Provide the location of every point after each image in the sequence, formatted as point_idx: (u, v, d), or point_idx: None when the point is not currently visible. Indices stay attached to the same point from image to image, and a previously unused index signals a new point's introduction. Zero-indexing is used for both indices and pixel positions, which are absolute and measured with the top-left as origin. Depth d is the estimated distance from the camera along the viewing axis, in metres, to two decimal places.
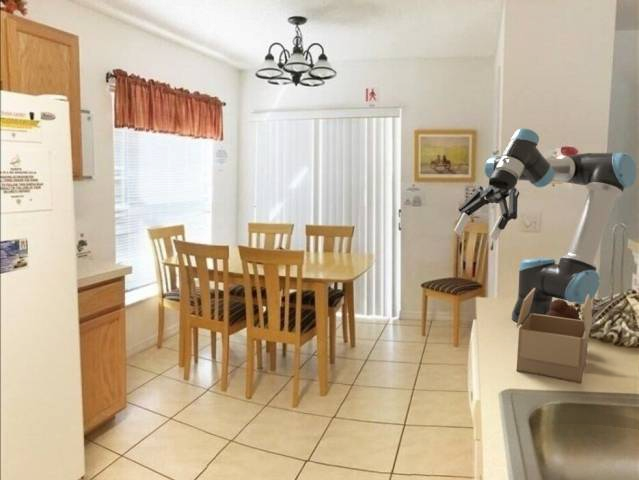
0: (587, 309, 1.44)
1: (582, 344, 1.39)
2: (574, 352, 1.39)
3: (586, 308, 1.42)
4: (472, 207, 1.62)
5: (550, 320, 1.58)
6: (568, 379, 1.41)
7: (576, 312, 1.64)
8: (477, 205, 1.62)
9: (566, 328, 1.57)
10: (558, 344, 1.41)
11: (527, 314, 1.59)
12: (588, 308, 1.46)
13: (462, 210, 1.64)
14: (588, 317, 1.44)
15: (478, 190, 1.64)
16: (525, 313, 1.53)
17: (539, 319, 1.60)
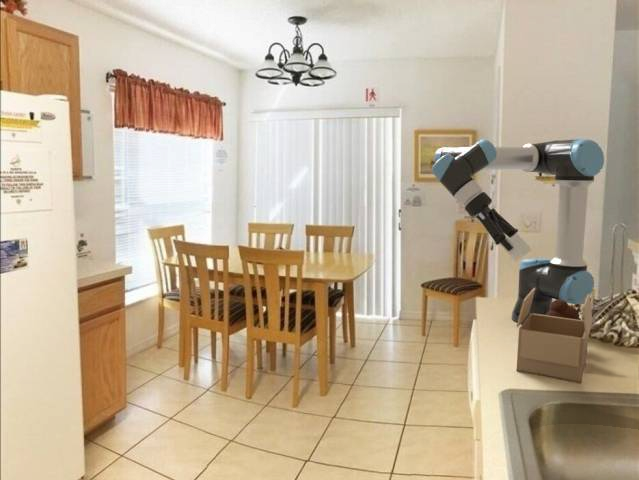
0: (587, 309, 1.44)
1: (582, 344, 1.39)
2: (574, 352, 1.39)
3: (586, 308, 1.42)
4: (504, 231, 1.59)
5: (550, 320, 1.58)
6: (568, 379, 1.41)
7: (576, 312, 1.64)
8: (502, 227, 1.59)
9: (566, 328, 1.57)
10: (558, 344, 1.41)
11: (527, 314, 1.59)
12: (588, 308, 1.46)
13: (508, 236, 1.61)
14: (588, 317, 1.44)
15: None
16: (525, 313, 1.53)
17: (539, 319, 1.60)
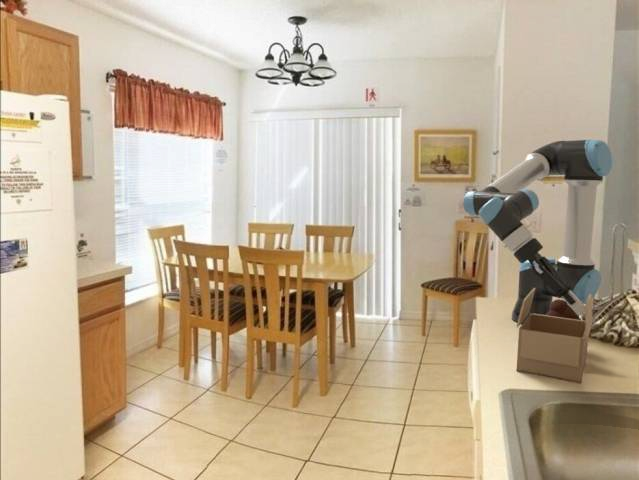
0: None
1: (582, 344, 1.39)
2: (574, 352, 1.39)
3: (588, 308, 1.41)
4: None
5: (550, 320, 1.58)
6: (568, 379, 1.41)
7: None
8: None
9: (566, 328, 1.57)
10: (558, 344, 1.41)
11: (527, 314, 1.59)
12: None
13: None
14: (589, 317, 1.44)
15: None
16: (525, 313, 1.53)
17: (539, 319, 1.60)
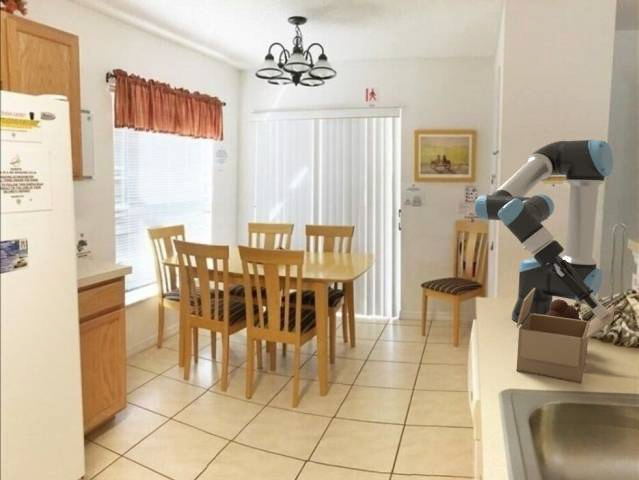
0: None
1: (582, 344, 1.39)
2: (574, 352, 1.39)
3: None
4: None
5: (550, 320, 1.58)
6: (568, 379, 1.41)
7: (576, 312, 1.64)
8: None
9: (566, 328, 1.57)
10: (558, 344, 1.41)
11: (527, 314, 1.59)
12: (606, 317, 1.44)
13: None
14: None
15: None
16: (525, 313, 1.53)
17: (539, 319, 1.60)
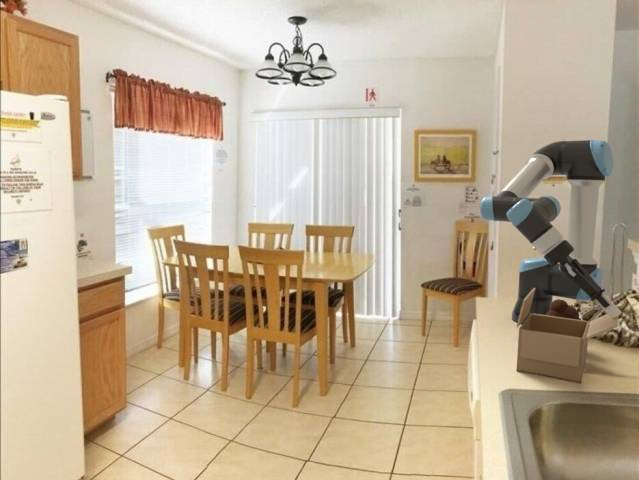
0: (610, 323, 1.41)
1: (582, 344, 1.39)
2: (574, 352, 1.39)
3: (612, 324, 1.39)
4: None
5: (550, 320, 1.58)
6: (568, 379, 1.41)
7: (576, 312, 1.64)
8: None
9: (566, 328, 1.57)
10: (558, 344, 1.41)
11: (527, 314, 1.59)
12: (609, 321, 1.44)
13: None
14: (602, 326, 1.43)
15: None
16: (525, 313, 1.53)
17: (539, 319, 1.60)
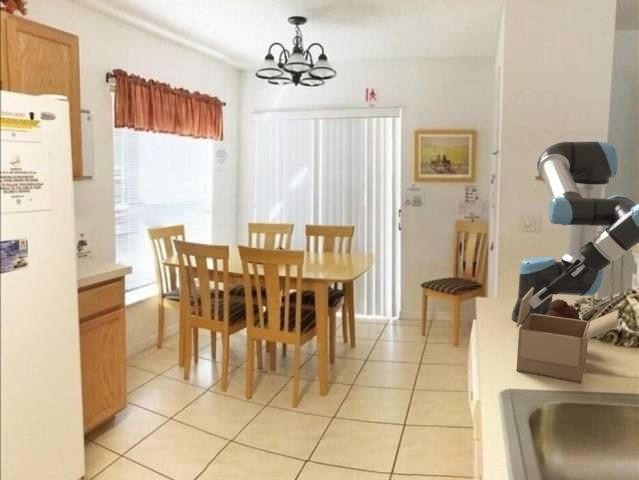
0: (610, 323, 1.41)
1: (582, 344, 1.39)
2: (574, 352, 1.39)
3: (612, 324, 1.39)
4: None
5: (550, 320, 1.58)
6: (568, 379, 1.41)
7: (576, 312, 1.64)
8: None
9: (566, 328, 1.57)
10: (558, 344, 1.41)
11: (527, 314, 1.59)
12: (609, 321, 1.44)
13: (548, 284, 1.51)
14: (602, 326, 1.43)
15: None
16: (525, 313, 1.54)
17: (539, 319, 1.60)
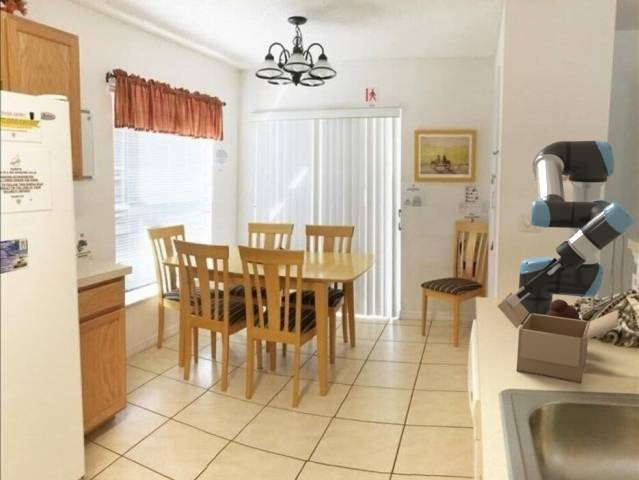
0: (610, 323, 1.41)
1: (582, 344, 1.39)
2: (574, 352, 1.39)
3: (612, 324, 1.39)
4: None
5: (550, 320, 1.58)
6: (568, 379, 1.41)
7: (576, 312, 1.64)
8: None
9: (566, 328, 1.57)
10: (558, 344, 1.41)
11: (526, 314, 1.59)
12: (609, 321, 1.44)
13: (526, 283, 1.54)
14: (602, 326, 1.43)
15: None
16: (519, 314, 1.54)
17: (539, 319, 1.60)
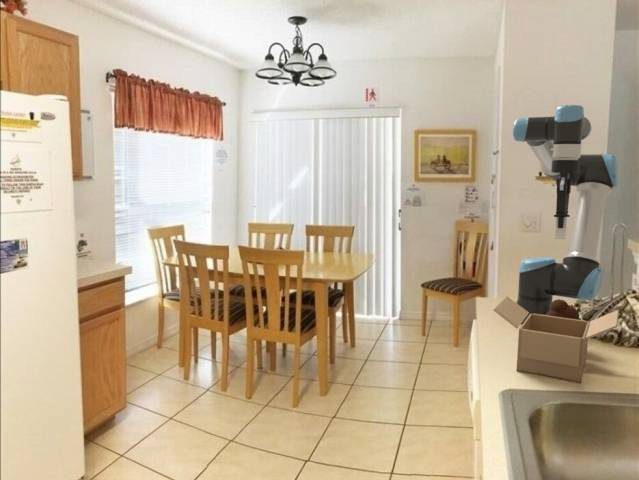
0: (610, 323, 1.41)
1: (582, 344, 1.39)
2: (574, 352, 1.39)
3: (612, 324, 1.39)
4: None
5: (550, 320, 1.58)
6: (568, 379, 1.41)
7: (576, 312, 1.64)
8: None
9: (566, 328, 1.57)
10: (558, 344, 1.41)
11: (526, 314, 1.59)
12: (609, 321, 1.44)
13: None
14: (602, 326, 1.43)
15: None
16: (518, 315, 1.55)
17: (539, 319, 1.60)
